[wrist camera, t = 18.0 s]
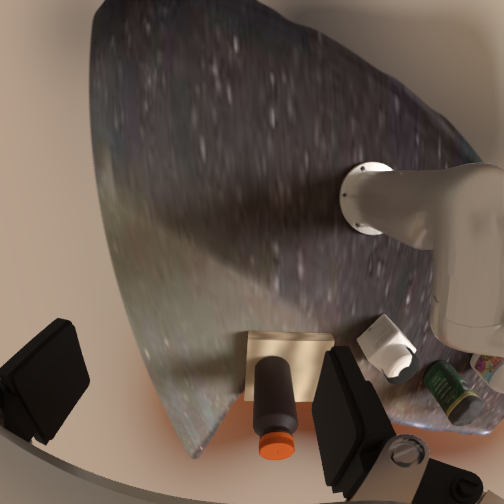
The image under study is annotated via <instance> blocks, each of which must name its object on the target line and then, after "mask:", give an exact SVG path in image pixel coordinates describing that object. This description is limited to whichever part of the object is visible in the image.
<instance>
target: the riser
mask: <svg viewBox="0 0 504 504" xmlns="http://www.w3.org/2000/svg"><path fill="white" fill-rule="evenodd" d="M334 342H335V340H334V338H333V336H332V334H331V333H295V332H265V331H248V344H247V362H246V379H245V397H244V400H245V401H254V373H255V366H256V364H257V363H258V362H259V361H260V360H261V359H263V358H265V357H269V356H278V357H281V358H283V359H285V360H286V361H287V362H288V363H289V365H290V370H291V377H292V384H293V391H294V398H295V402H306V401H313V400H314V396H315V392H316V388H317V384H318V380H319V376H320V372H321V368H322V364H323V360H324V355H325V352H326V351H330V349H331V347H333V346H334Z"/></svg>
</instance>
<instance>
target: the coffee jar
mask: <svg viewBox="0 0 504 504" xmlns="http://www.w3.org/2000/svg"><path fill="white" fill-rule="evenodd" d="M423 381H424V383H425V385H426V386H427V388H428V389H429V390H430V392H431V393H432V394H433V396H434V397H435V399H436V400H437V402H438V403H439V405H440V406H441V408H442V409H443V411H444V412H445V414H446V416H447V418H448V419H449V420H450V422H451V423H452V424H453V425H456V426H463V425H467V424H470V423H471V422H472V421H473V420H474V419H475V418H476V417H477V416H478V415H479V414H480V413H481V410H482V406H483V404H482V402H481V400H480V399H479V398H478V396H477V395H476V394H475V393H474V392H473V391H472V389H471V388H470V387H469V386H468V384H467V383H466V382H465V381H464V380H463V378H462V377H461V376H460V375H459V373H458V372H457V371H456V370H455V369H454V367H453V366H452V365H451V364H450V363H448V362H445V361H438V362H436V363H435V364H434V365H432V366H431V367H430V368H429V369H428V371H427V372H426V374H425V376H424V378H423Z"/></svg>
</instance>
